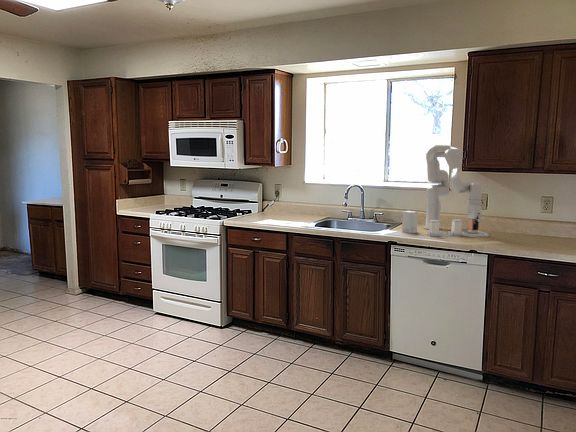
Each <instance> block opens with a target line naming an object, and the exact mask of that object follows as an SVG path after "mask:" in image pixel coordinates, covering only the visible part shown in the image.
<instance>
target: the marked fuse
mask: <svg viewBox="0 0 576 432" xmlns="http://www.w3.org/2000/svg"><path fill="white" fill-rule="evenodd" d="M476 219H477V218H476ZM473 224H474V219H470V218H469V219H468V226H467V227H468V228H467V230H468V231H469V232H478V231H480V230H479V228H480V223H479V224H478V230H473Z"/></svg>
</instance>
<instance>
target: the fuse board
mask: <svg viewBox="0 0 576 432" xmlns="http://www.w3.org/2000/svg"><path fill="white" fill-rule="evenodd" d="M453 233H454V232H453V231H449V230H448V231H447V233H443V231H440V230H439V236H431V232H429V230H428V231H427V233H425V234H424V235H425V236H428V237H430V238H447V237H449V238H452V237H453V238H454V237H455V238H456V237H459V238H460V237H465V235H462V232H461V235H460V236H454V235H453Z"/></svg>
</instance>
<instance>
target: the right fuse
mask: <svg viewBox="0 0 576 432" xmlns="http://www.w3.org/2000/svg"><path fill="white" fill-rule="evenodd" d="M462 228H463V219H459V218H458V219H451V228H450V229H451V231H453V232H454V233H453V235H454V236H460V235H461V232H462V231H463V229H462ZM451 231H450V232H451Z"/></svg>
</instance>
